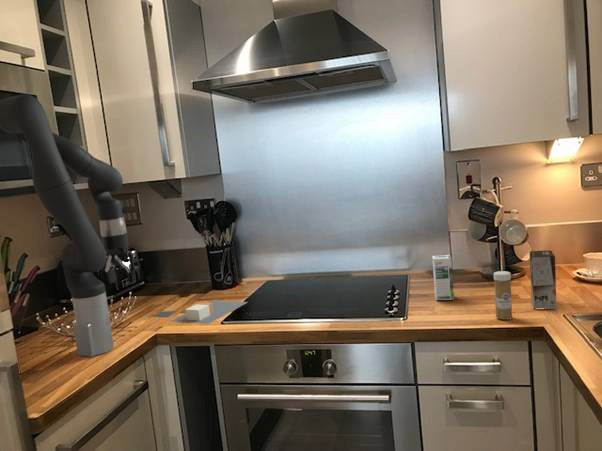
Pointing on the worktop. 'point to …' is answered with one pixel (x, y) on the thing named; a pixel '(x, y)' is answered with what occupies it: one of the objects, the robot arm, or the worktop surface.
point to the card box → (199, 311)
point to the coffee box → (543, 279)
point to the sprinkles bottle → (503, 294)
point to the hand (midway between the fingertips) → (122, 283)
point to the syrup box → (443, 277)
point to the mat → (219, 311)
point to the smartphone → (164, 313)
